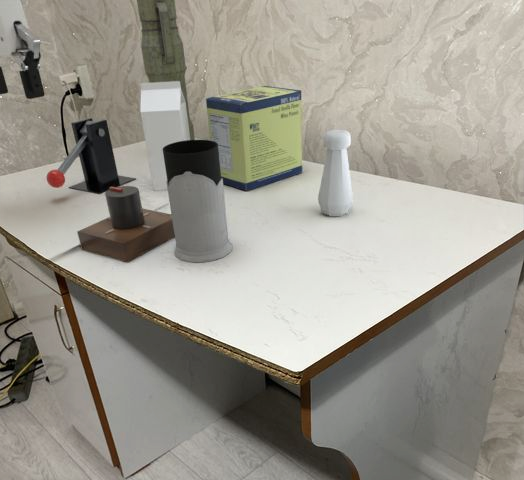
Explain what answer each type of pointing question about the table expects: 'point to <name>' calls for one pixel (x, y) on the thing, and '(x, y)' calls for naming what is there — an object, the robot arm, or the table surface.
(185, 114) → the milk carton
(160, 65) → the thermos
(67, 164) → the lever
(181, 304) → the table surface
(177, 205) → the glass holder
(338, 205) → the salt shaker
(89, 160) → the lever bracket
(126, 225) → the dial
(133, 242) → the dial panel
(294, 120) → the protein box
